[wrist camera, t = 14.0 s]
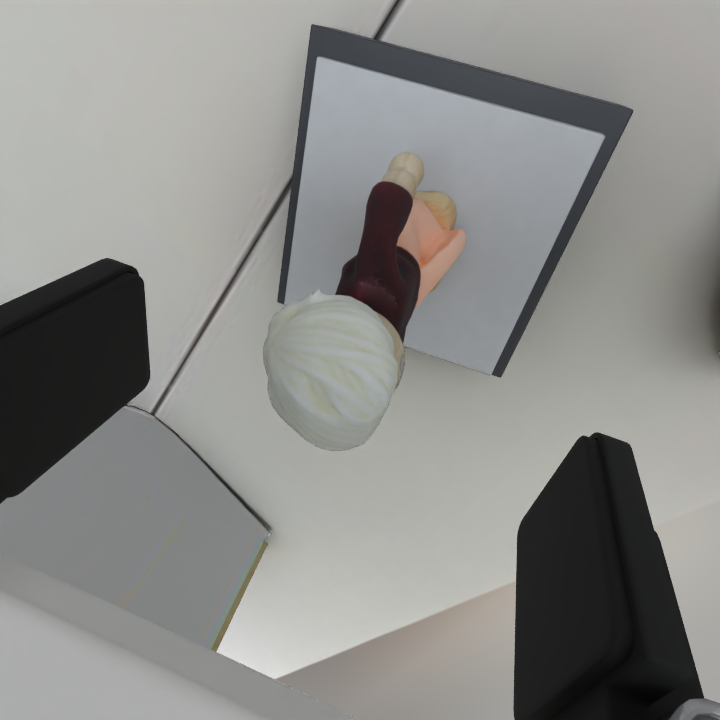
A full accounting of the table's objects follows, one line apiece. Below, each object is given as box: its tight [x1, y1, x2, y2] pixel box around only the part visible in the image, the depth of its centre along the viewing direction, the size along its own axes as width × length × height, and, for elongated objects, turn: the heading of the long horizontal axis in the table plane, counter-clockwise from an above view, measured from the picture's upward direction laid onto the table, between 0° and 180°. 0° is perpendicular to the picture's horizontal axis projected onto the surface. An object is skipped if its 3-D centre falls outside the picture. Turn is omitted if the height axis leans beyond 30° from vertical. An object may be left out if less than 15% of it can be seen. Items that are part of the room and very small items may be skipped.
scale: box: [277, 24, 633, 378], centre depth 21 cm, size 12×12×3 cm
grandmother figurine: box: [263, 152, 466, 451], centre depth 14 cm, size 8×4×13 cm, turn 1°
